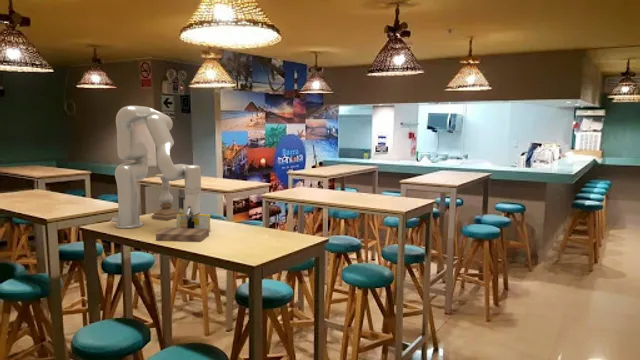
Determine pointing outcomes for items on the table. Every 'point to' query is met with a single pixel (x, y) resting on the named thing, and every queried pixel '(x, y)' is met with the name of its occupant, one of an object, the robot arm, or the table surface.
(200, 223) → the candy box
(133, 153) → the robot arm
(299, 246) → the table surface
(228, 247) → the table surface
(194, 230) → the walnut plinth
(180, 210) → the coffee can
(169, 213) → the candle holder
